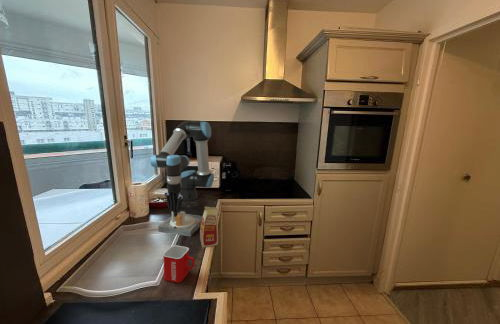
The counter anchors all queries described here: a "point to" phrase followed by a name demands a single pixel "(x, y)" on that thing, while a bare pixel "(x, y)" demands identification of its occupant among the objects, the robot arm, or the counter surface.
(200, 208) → the counter surface
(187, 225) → the dial
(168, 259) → the mug
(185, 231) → the panel
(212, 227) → the milk carton
